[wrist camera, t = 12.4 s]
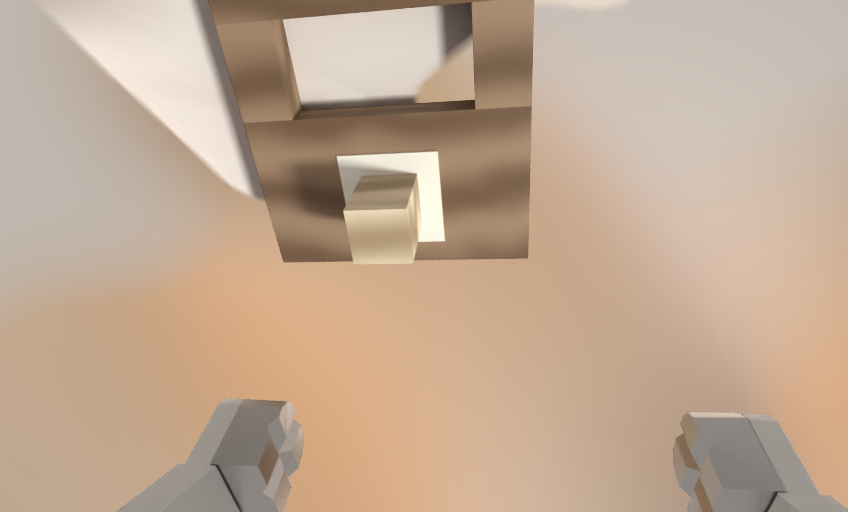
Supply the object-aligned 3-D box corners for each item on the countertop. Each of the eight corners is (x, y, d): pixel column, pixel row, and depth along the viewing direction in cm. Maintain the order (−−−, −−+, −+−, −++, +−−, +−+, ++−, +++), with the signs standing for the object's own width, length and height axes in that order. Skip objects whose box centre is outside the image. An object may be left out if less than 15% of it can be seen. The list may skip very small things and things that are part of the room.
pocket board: (222, -11, 36) (204, -7, 34) (532, -41, 33) (535, -40, 31) (292, 247, 48) (282, 263, 46) (526, 243, 45) (528, 259, 43)
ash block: (361, 175, 40) (343, 210, 35) (417, 173, 39) (406, 208, 34) (369, 225, 42) (353, 264, 37) (422, 223, 42) (412, 263, 37)
